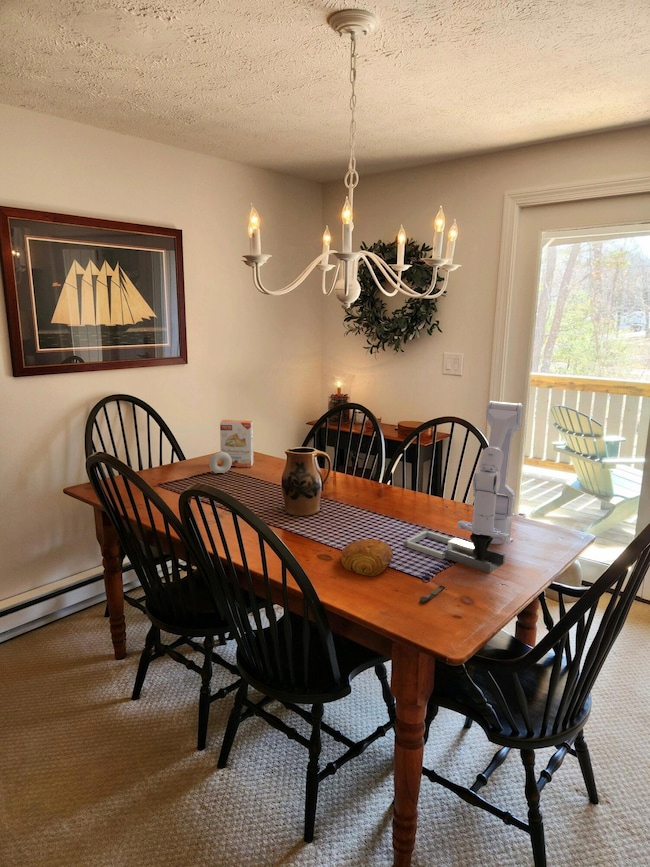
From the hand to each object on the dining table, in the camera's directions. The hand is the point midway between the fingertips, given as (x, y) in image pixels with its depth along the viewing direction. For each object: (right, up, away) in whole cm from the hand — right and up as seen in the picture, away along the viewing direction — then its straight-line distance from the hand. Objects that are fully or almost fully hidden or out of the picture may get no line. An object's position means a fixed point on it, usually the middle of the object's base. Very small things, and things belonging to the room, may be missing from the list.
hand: (480, 558), depth 159 cm
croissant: (-32, -2, 0) cm, 32 cm away
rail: (-1, -2, +2) cm, 3 cm away
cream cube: (-3, 0, +2) cm, 4 cm away
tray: (-11, 0, +11) cm, 15 cm away
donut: (-89, +18, +84) cm, 124 cm away
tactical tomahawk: (-15, -5, -12) cm, 20 cm away
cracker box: (-84, +20, +97) cm, 130 cm away
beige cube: (-5, 0, +5) cm, 7 cm away
